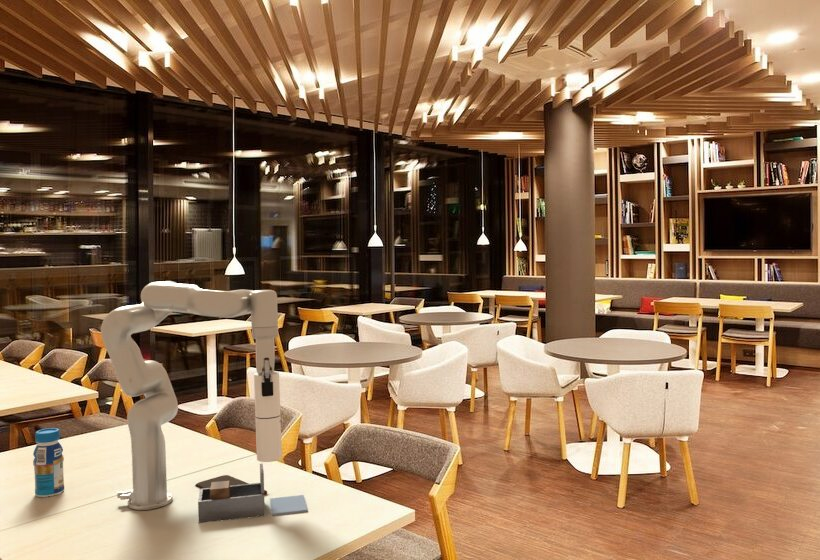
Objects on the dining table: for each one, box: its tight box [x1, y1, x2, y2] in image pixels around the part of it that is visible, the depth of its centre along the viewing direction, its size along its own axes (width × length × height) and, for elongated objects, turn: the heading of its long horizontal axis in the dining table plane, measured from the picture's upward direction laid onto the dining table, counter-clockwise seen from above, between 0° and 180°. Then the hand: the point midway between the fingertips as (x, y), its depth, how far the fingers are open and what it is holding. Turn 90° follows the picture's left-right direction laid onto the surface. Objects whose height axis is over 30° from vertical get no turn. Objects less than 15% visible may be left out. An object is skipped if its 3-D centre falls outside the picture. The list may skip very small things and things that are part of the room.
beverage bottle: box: [32, 427, 65, 498], centre depth 207 cm, size 8×8×20 cm
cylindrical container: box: [253, 370, 283, 463], centre depth 191 cm, size 7×7×25 cm
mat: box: [269, 494, 308, 516], centre depth 194 cm, size 10×12×1 cm
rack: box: [197, 463, 266, 524], centre depth 189 cm, size 18×11×12 cm, turn 105°
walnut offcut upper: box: [210, 481, 230, 500], centre depth 188 cm, size 5×6×4 cm
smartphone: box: [194, 474, 268, 496], centre depth 208 cm, size 12×2×25 cm
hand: (267, 392), depth 191 cm, fingers closed on cylindrical container, 7 cm apart
